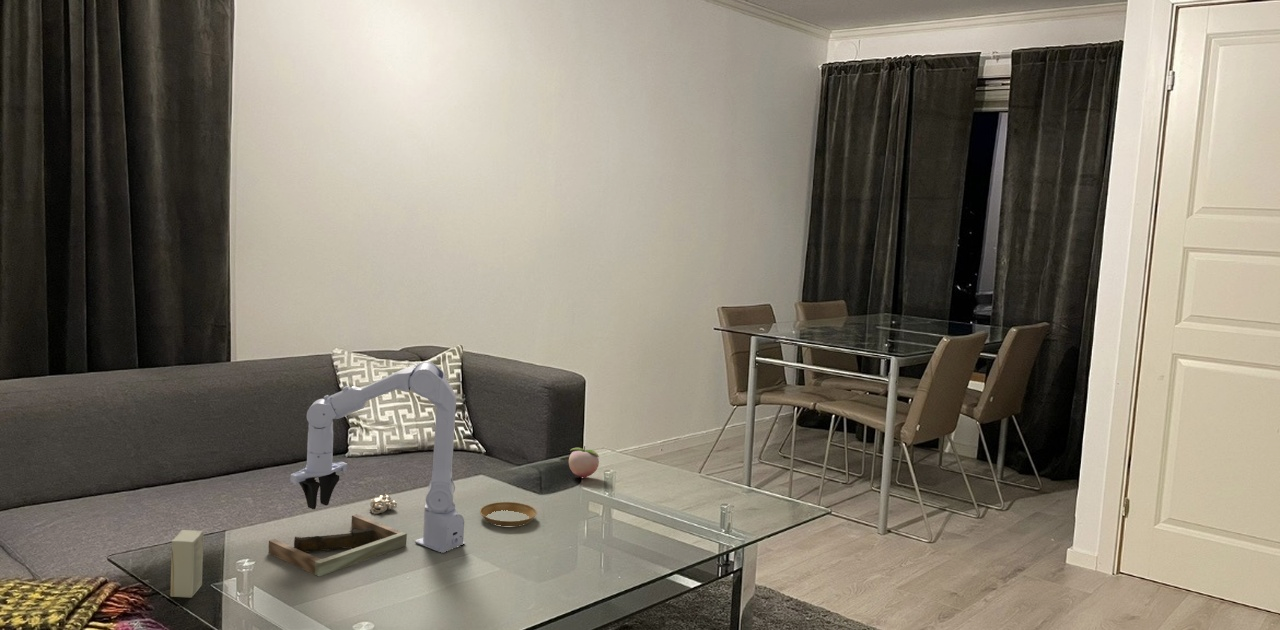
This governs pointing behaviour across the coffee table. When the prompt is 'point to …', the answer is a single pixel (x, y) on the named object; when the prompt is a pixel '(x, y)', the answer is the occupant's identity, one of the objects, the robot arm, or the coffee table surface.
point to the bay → (319, 567)
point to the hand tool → (336, 540)
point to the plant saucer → (510, 507)
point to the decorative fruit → (583, 462)
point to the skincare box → (186, 563)
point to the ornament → (382, 504)
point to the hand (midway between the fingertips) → (318, 506)
